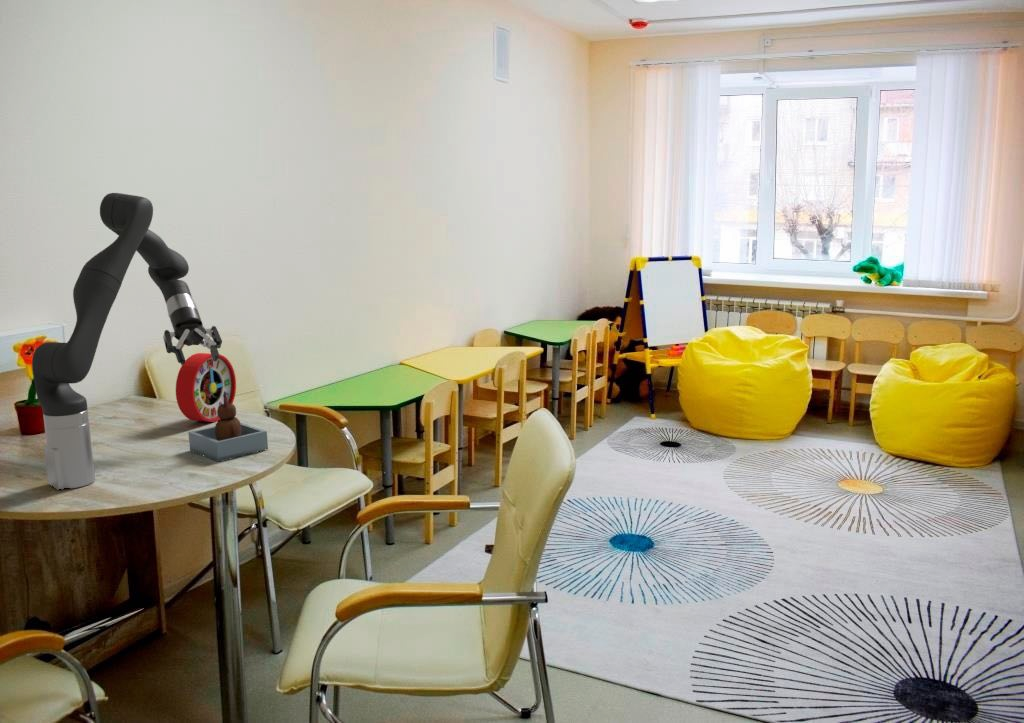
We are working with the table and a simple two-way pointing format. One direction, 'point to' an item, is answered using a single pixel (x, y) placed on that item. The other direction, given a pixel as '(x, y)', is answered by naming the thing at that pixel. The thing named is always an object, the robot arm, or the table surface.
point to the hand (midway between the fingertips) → (199, 361)
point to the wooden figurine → (227, 422)
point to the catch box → (228, 443)
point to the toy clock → (204, 386)
